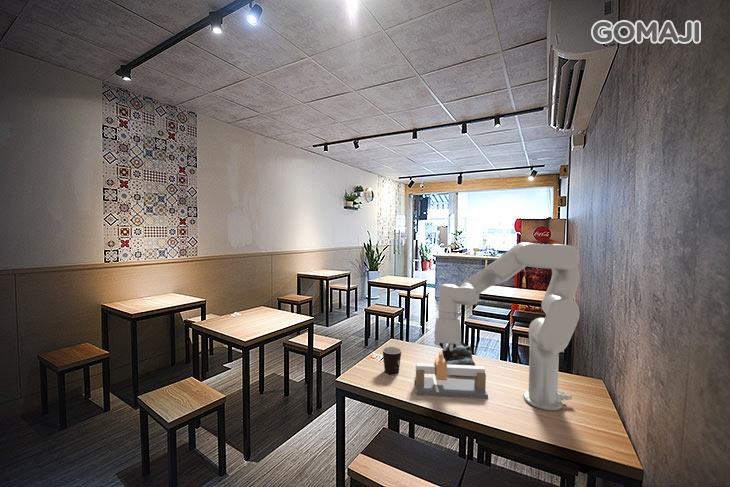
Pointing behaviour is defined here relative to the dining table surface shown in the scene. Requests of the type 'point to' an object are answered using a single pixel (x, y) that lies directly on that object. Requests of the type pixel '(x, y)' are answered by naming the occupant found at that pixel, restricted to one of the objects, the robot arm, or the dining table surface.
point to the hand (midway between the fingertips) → (447, 359)
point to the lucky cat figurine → (461, 356)
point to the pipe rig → (451, 381)
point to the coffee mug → (391, 360)
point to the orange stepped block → (441, 368)
